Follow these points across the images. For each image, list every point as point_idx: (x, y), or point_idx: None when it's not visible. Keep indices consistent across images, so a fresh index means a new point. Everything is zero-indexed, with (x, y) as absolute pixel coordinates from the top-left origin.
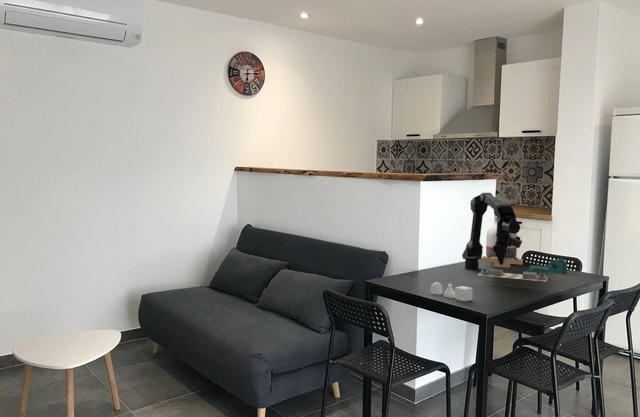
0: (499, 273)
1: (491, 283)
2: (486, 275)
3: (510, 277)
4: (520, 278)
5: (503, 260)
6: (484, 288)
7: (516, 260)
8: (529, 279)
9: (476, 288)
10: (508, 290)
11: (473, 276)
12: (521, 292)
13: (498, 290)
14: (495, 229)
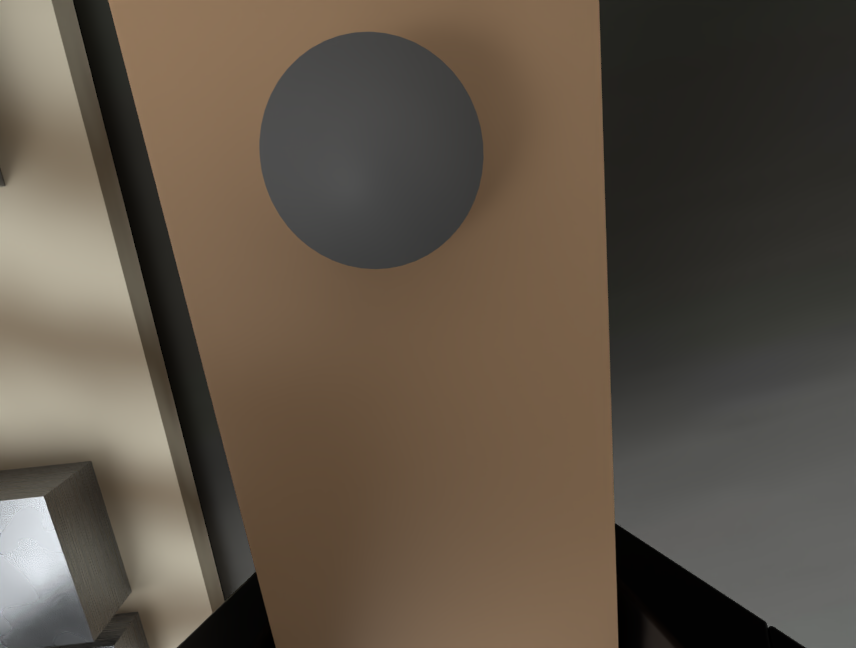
0: (73, 500)
1: None
2: (180, 602)
3: (90, 341)
4: (57, 206)
5: (633, 564)
6: (767, 451)
7: (585, 85)
8: (32, 66)
9: (799, 514)
10: (762, 203)
11: None
12: (814, 27)
13: (808, 303)
14: None
